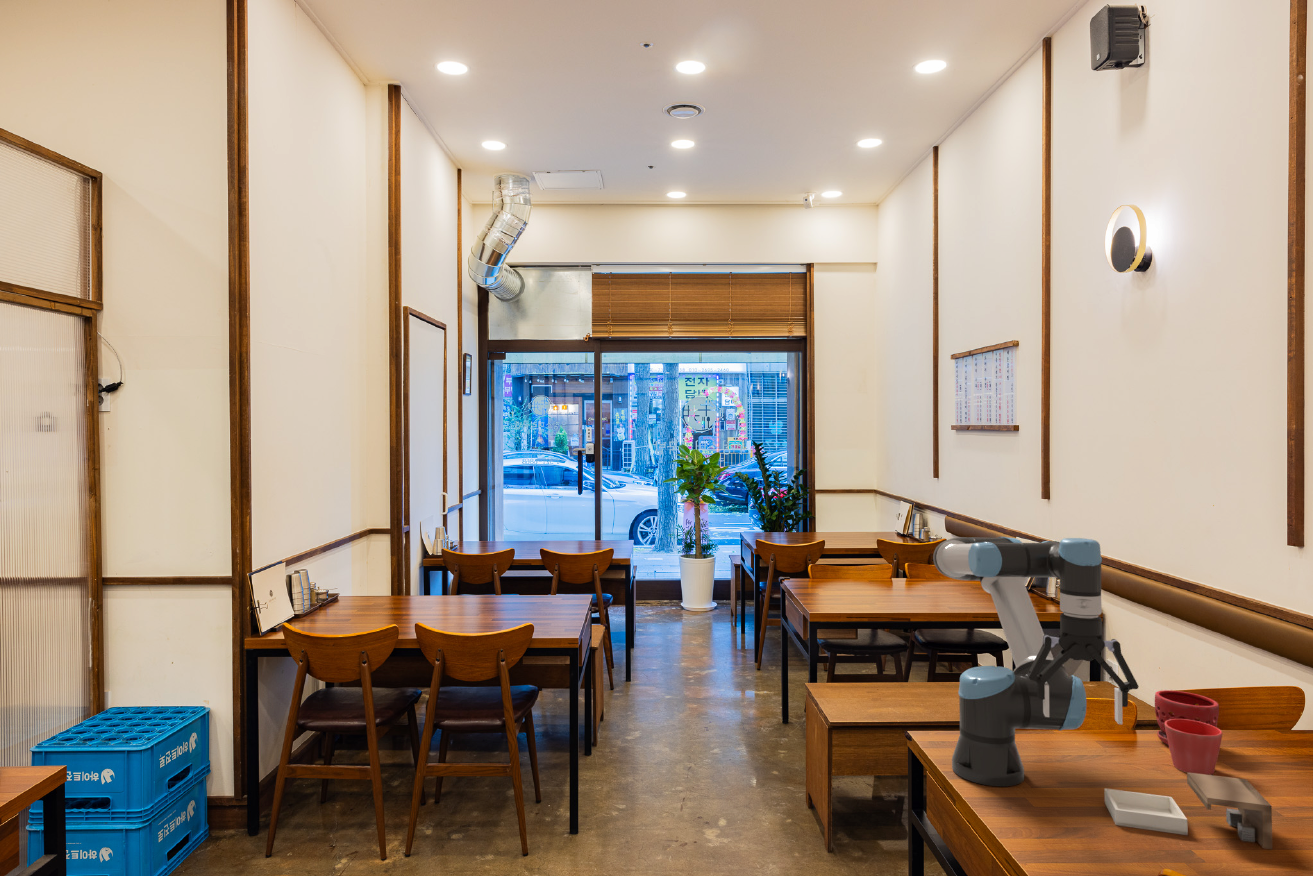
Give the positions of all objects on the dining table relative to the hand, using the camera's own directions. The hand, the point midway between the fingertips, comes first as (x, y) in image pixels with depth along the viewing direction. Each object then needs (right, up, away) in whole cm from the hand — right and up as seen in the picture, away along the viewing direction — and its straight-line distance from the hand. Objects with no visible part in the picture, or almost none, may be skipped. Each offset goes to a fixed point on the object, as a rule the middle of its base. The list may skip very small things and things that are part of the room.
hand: (1081, 718), depth 156 cm
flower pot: (+37, -19, +19) cm, 45 cm away
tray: (+10, -18, -4) cm, 21 cm away
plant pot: (+45, -19, +33) cm, 59 cm away
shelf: (+23, -18, -9) cm, 31 cm away
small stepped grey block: (+25, -18, -10) cm, 33 cm away
